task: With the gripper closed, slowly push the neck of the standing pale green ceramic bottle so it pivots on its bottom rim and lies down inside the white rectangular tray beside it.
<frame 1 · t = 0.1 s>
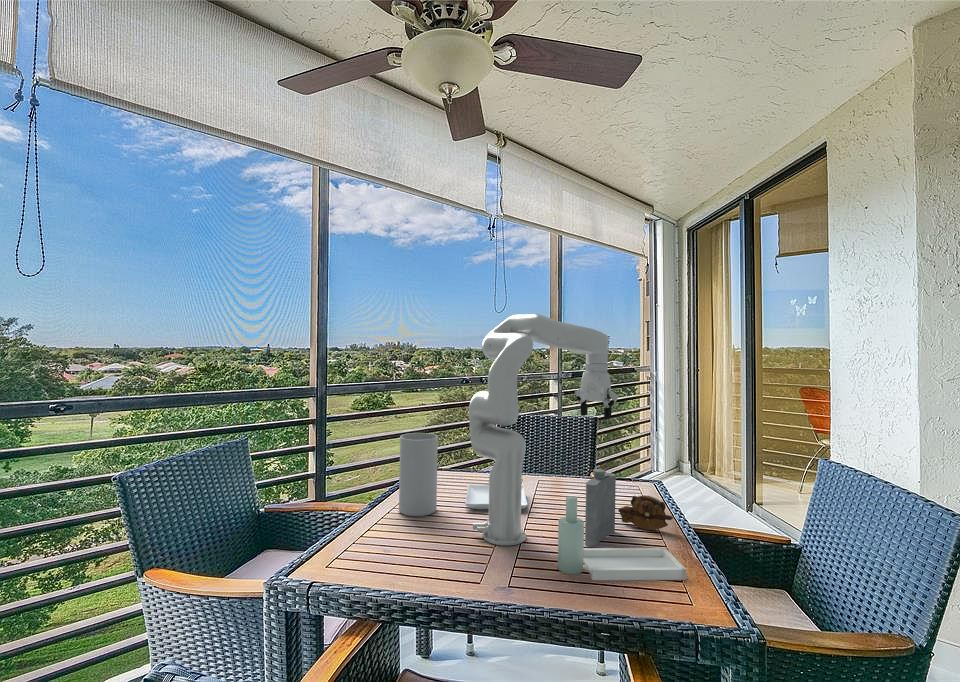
hand: (595, 416, 179), 31 cm above the table, tool pointing down, fingers open, 9 cm apart
wooden carving: (645, 529, 158), on the table
cylinder vase: (417, 511, 171), on the table
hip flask: (598, 538, 150), on the table
white rectangular tray: (628, 568, 130), on the table
bottle: (570, 568, 130), on the table
salad plate: (495, 503, 181), on the table
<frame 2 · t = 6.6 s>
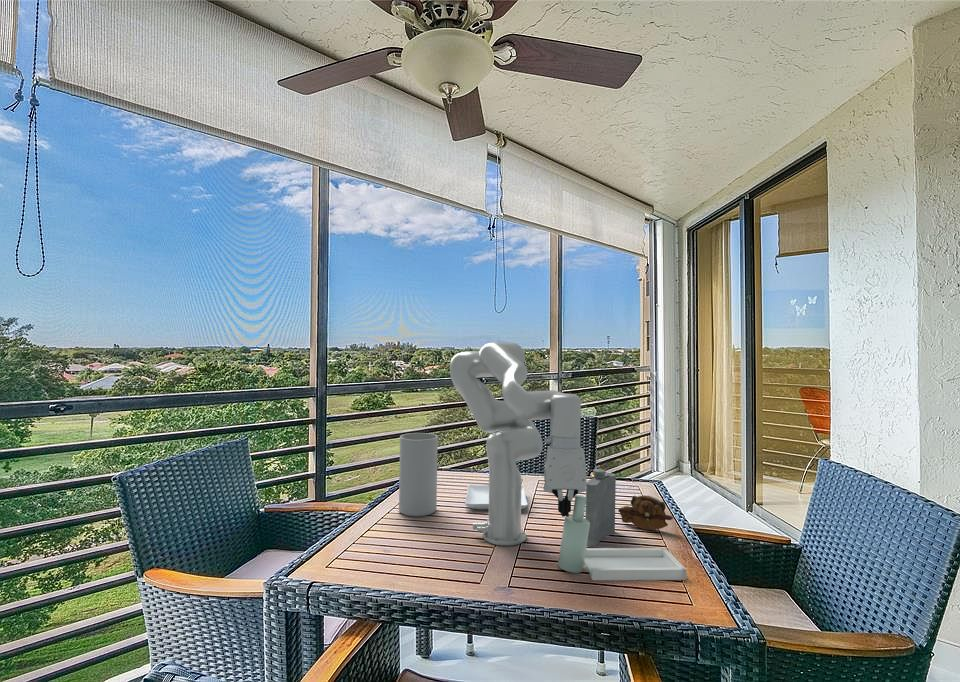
hand: (564, 514, 129), 14 cm above the table, tool pointing down, fingers closed
bottle: (570, 566, 130), on the table, tilted 7°, touching gripper
everything else where it was.
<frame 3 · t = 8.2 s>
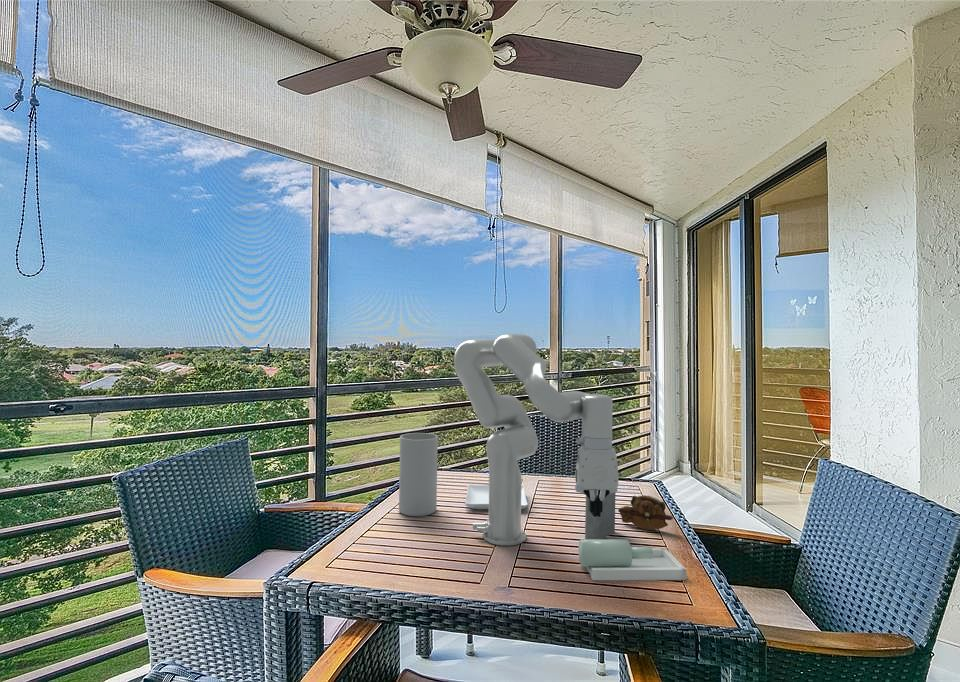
hand: (595, 514, 130), 14 cm above the table, tool pointing down, fingers closed
bottle: (581, 552, 130), point 4 cm above the table, tilted 90°, touching white rectangular tray
everything else where it was.
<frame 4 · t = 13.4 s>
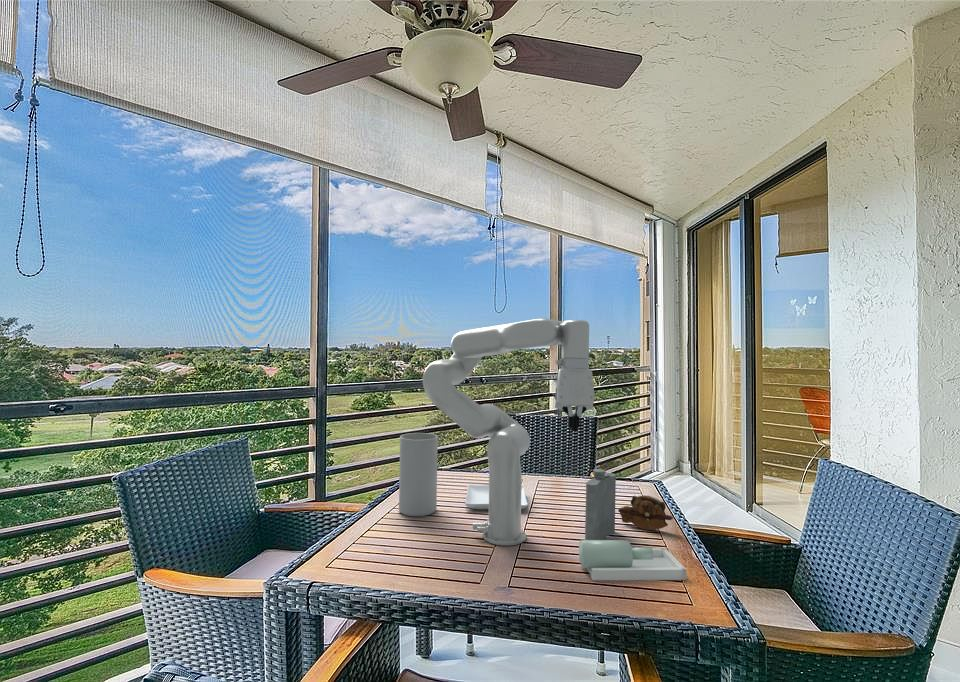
hand: (573, 430, 142), 33 cm above the table, tool pointing down, fingers closed
nothing on the table moved.
at the end: bottle tilted 90°; bottle touching white rectangular tray; bottle inside the target area (2.4 cm from its centre), point 4.0 cm above the table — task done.
